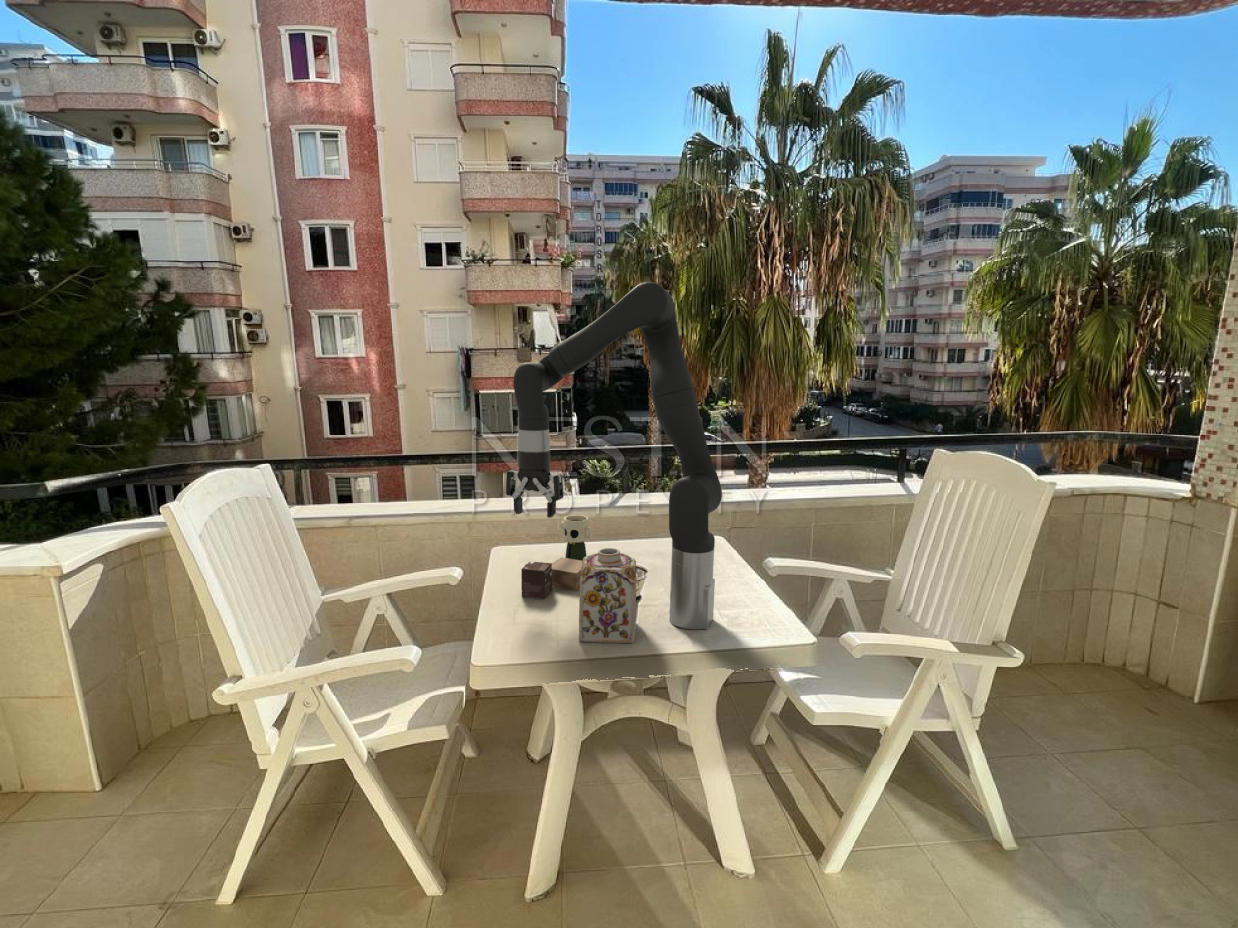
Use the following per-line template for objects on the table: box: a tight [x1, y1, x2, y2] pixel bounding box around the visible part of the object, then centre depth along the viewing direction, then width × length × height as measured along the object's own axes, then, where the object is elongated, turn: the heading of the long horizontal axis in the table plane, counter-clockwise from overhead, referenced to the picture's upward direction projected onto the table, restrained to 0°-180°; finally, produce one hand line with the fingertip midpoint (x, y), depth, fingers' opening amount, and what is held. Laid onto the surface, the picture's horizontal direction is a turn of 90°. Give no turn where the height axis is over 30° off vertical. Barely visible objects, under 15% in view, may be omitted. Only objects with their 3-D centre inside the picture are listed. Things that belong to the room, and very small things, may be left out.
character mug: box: [560, 514, 593, 561], centre depth 169 cm, size 11×7×13 cm, turn 55°
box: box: [520, 561, 553, 600], centre depth 146 cm, size 6×6×7 cm
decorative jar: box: [578, 547, 637, 644], centre depth 126 cm, size 12×12×18 cm
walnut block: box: [551, 556, 582, 592], centre depth 154 cm, size 9×9×5 cm
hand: (534, 515), depth 143 cm, fingers open, 8 cm apart
